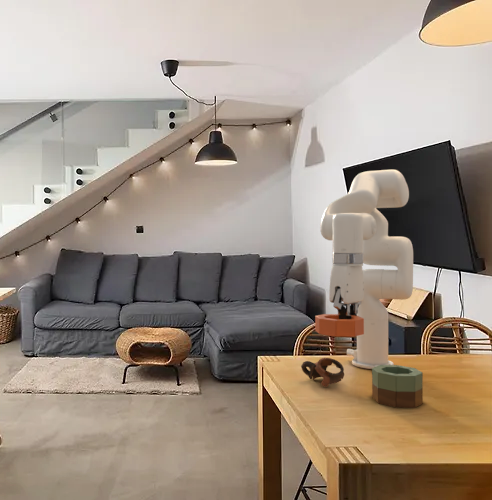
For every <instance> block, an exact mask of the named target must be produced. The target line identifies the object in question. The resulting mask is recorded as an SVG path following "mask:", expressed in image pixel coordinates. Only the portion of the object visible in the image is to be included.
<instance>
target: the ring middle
mask: <svg viewBox="0 0 492 500" xmlns="http://www.w3.org/2000/svg"><path fill="white" fill-rule="evenodd" d="M423 374H424V373H423V371H421V370H419V369H417V368H415V367H412V366H405V365H399V364H394V365H379V366H376V367H374V368H372V369H371V375H372V376H371V384H372V383H373V384H374V385H375V386H377V387H378V388H381V389H386V390H391V391H395V392H415V391H418V390H420V389H422V388H423V387H424V385H423V384H424V383H423V376H424V375H423Z"/></svg>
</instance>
